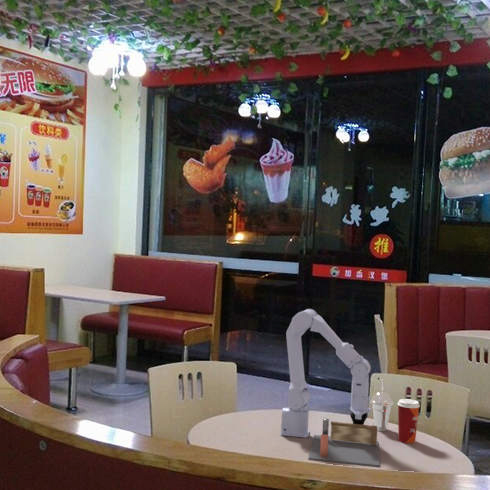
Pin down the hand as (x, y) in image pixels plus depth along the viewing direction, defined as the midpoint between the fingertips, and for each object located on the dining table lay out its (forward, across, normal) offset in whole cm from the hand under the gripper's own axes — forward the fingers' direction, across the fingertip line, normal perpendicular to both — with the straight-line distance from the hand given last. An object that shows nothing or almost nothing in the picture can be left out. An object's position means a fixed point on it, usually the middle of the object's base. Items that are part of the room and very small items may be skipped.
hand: (357, 434), depth 229 cm
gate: (+2, -2, +1) cm, 3 cm away
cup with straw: (+3, +19, -8) cm, 21 cm away
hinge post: (+3, -2, +11) cm, 11 cm away
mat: (+3, -9, +4) cm, 11 cm away
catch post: (+3, -18, +10) cm, 21 cm away
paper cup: (+3, +8, -17) cm, 19 cm away
